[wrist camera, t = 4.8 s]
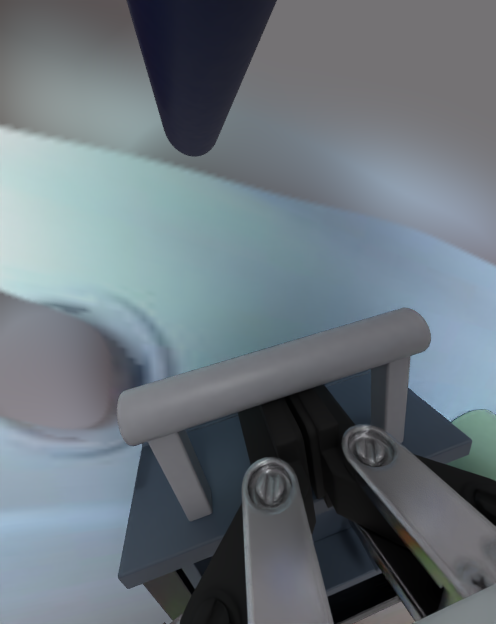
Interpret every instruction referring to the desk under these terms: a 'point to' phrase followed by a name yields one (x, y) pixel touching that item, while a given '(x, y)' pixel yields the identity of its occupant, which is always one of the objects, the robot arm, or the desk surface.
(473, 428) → the sage green cylinder
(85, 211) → the desk surface
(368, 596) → the rack rails
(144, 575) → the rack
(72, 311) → the desk surface
